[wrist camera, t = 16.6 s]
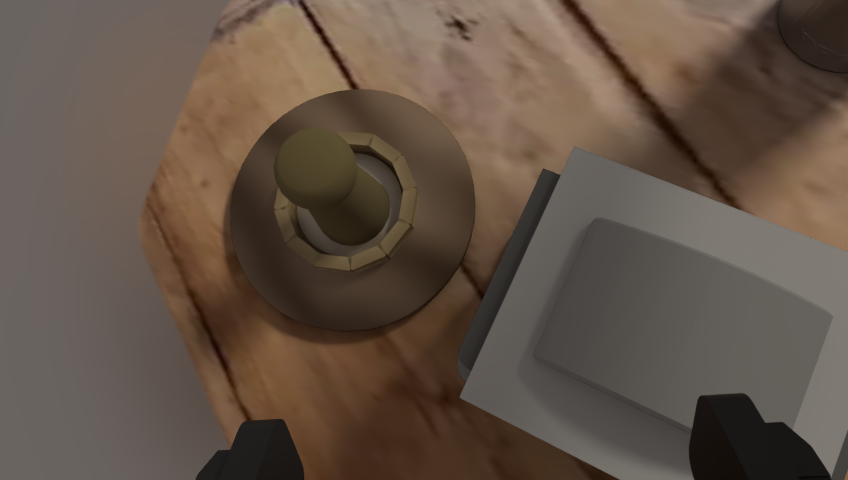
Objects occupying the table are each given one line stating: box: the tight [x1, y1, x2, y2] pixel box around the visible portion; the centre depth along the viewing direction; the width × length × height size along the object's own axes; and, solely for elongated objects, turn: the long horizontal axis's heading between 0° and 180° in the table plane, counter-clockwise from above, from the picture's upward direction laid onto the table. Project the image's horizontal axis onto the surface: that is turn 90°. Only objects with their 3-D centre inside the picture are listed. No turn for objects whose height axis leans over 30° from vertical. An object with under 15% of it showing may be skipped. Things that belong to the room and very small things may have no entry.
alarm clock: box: [457, 146, 848, 480], centre depth 31 cm, size 18×13×18 cm
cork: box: [273, 128, 390, 246], centre depth 38 cm, size 6×6×11 cm
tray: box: [230, 89, 475, 331], centre depth 44 cm, size 20×20×3 cm
